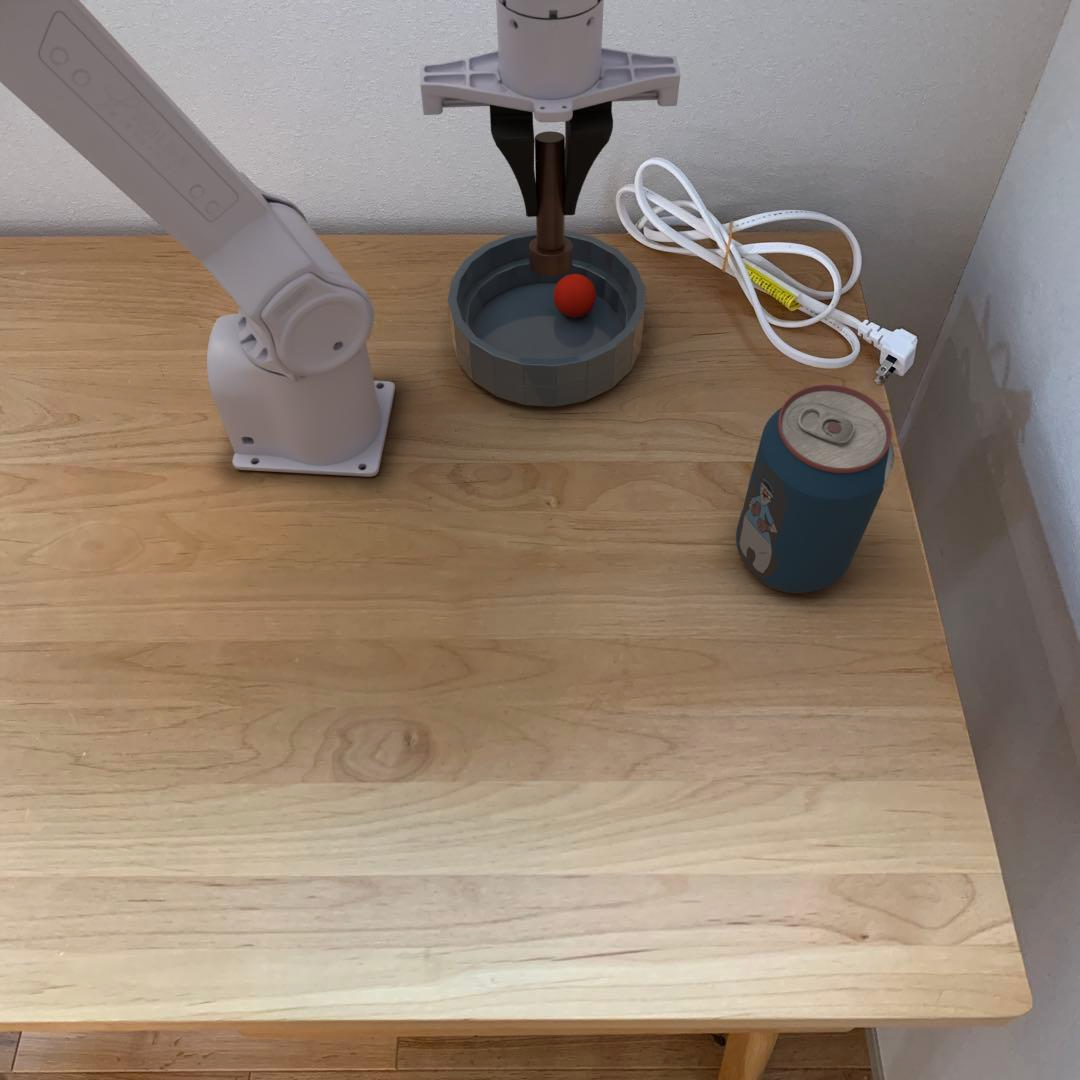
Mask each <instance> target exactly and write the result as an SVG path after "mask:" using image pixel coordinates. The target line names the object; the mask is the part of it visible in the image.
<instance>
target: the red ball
mask: <svg viewBox="0 0 1080 1080" xmlns="http://www.w3.org/2000/svg"><path fill="white" fill-rule="evenodd" d="M595 300H596V291H595V288H594V285H593V284H592V282H591V281H590V280H589V279H588V278H587V277H585V276H583V275H580V274H570V275H567V276H565V277H563V278H562V279H561V280H560V281H559V282H558V283H557V285H556V287H555V289H554V302H555V305H556V307H557V309H558V310H559V311H560V312H561V313H562V314H564V315H566V316H568V317H573V318H576V317H581V316H584V315H585V314H587V313H588V312H589V311H590V310H591V309H592V308H593V306H594V304H595Z"/></svg>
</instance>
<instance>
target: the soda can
mask: <svg viewBox="0 0 1080 1080" xmlns="http://www.w3.org/2000/svg"><path fill="white" fill-rule="evenodd" d="M892 432H893V431H892V425H891V422H890V420H889V417H888V416H887V413H886V412H885V411H884V410H883V408H882V407H881V406H880V405H879V404H878V402H876V401H875V400H874V399H873V398H872V397H870V396H868V395H867V394H864V392H861V391H859V390H856V389H854V388H850V387H847V386H843V385H838V384H818V385H811V386H808V387H805V388H802V389H800V390H798V391H796V392H794V393H793V394H792V395H790V397H788V398H787V399H786V401H785V402H784V403H783V405H782V406H781V407H780V408H778V409H777V410H776V411H775V412H774V413H773V414H772V415H771V416H770V417H769V418H768V420H767V422H766V423H765V425H764V427H763V430H762V433H761V436H760V440H759V444H758V448H757V452H756V457H755V460H754V463H753V467H752V469H751V474H750V479H749V482H748V485H747V489H746V493H745V496H744V500H743V504H742V508H741V511H740V514H739V515H740V516H739V519H738V523H737V527H736V530H735V531H736V532H735V541H736V549H737V551H738V553H739V556H740V558H741V560H742V562H743V563H744V566H746V568H747V569H748V570H749V571H750V572H751V574H752V575H753V576H755V578H757V579H758V580H759V581H760V582H761V583H763V584H764V585H766V586H768V587H770V588H771V589H774V590H777V591H779V592H783V593H788V594H789V593H790V594H803V593H804V594H805V593H811V592H816V591H820V590H822V589H825V588H829V587H830V586H831V585H833V584H835V583H836V582H837V581H839V580H840V579H842V577H843V576H844V575H845V574H846V573H847V571H848V570H849V568H850V566H851V564H852V562H853V559H854V557H855V554H856V553H857V550H858V548H859V546H860V543H861V541H862V539H863V536H864V534H865V532H866V531H867V528H868V525H869V524H870V521H871V519H872V516H873V514H874V512H875V510H876V507H877V505H878V503H879V500H880V499H881V496H882V494H883V491H884V489H885V487H886V485H887V482H888V480H889V478H890V475H891V473H892V471H893V468H894V463H895V449H894V445H893V441H892V436H893V434H892Z"/></svg>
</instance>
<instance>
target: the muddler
mask: <svg viewBox="0 0 1080 1080" xmlns="http://www.w3.org/2000/svg"><path fill="white" fill-rule="evenodd" d="M534 140H535V142H534V172H535V181H536V196H537V217H535V218H536V220H535V221H536V222H535V223H536V230H537V238H535V239H534V240H532V241H531V242H530V244H529V262H530V268H531V270H532V271H533V272H535V273H537V274H540V275H544V276H557V275H562V274H564V273H566V272H568V271H569V270H570V269H571V267H572V243H571V241H570V240H568V239H567V238H565V230H566V229H565V227H566V224H565V223H566V222H565V221H566V219H565V217H566V215H565V216H564V194H565V134H563V133H561V132H559V131H551V130H550V131H549V130H548V131H542V132H539V133H537V134H536V135H534Z"/></svg>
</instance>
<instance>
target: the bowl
mask: <svg viewBox="0 0 1080 1080" xmlns="http://www.w3.org/2000/svg"><path fill="white" fill-rule="evenodd" d="M535 238H537V229H531V230H525V231H519V232H514V233H509V234H506V235H504V236H501V237H499V238H496V239H495V240H492V241H489V242H487V243H485V244H483V245H482V246H480V247H479V248H478V249H476V250H475V251H474V252H472V253H471V254H470V255H468V256H467V257H466V258H465V259H464V260H463V261H462V263H461V264H460V266H459V267H458V269H457V270H456V272H455V273H454V275H453V276H452V278H451V281H450V286H449V290H448V291H449V292H448V297H447V305H448V314H449V315H448V317H449V323H450V324H449V325H450V331H451V333H450V334H451V342H452V347H453V350H454V353H455V357H456V360H457V363H458V365H459V366H460V367H461V368H462V369H463V371H464V372H465V373H466V374H467V376H468V377H469V379H470V380H471V381H472V382H473V383H475V384H476V385H478V386H479V387H481V388H483V389H484V390H485V391H487V392H489V393H490V394H492V395H494V396H496V398H501V399H503V400H507V401H510V402H513V403H516V404H517V403H518V404H519V405H523V406H535V407H561V406H567V405H572V404H576V403H582V402H586V401H588V400H591V399H592V398H594V397H596V396H599V395H601V394H603V393H605V392H607V391H609V390H611V389H613V388H614V387H615V386H616V385H618V383H619V382H621V380H622V379H623V378H625V377H626V376H627V375H628V374H629V373H630V372H631V371H632V369H633V367H634V365H635V363H636V361H637V359H638V357H639V355H640V353H641V349H642V341H643V333H644V331H643V330H644V322H645V321H644V320H645V311H646V286H645V284H644V281H643V279H642V277H641V275H640V272H639V271H638V268H637V266H635V264H634V263H633V262H632V261H630V259H629V258H628V257H627V256H626V255H625V254H624V253H623V252H622V251H621V250H619V249H618V248H616V247H614V246H612V245H611V244H609V243H608V242H605V241H603V240H602V239H599V238H598V237H596V236H591V235H588V234H584V233H580V232H576V231H573V230H567V229H565V238H567V239H568V240H570V241H571V243H572V267H571V269H570V270H569V271H568V272H566V273H564V274H562V275H557V276H544V275H540V274H537V273H535V272H533V271H532V270H531V268H530V262H529V244H530V242H531V241H532V240H534V239H535ZM570 274H580V275H583V276H585V277H587V278H588V279H589V280H590V281H591V282H592V284H593V285H594V288H595V291H596V300H595V304H594V306H593V308H592V309H591V310H590V311H589V312H588V313H587V314H585V315H584V316H581V317H576V318H573V317H568V316H566V315H564V314H562V313H561V312H560V311H559V310H558V309H557V307H556V305H555V302H554V289H555V287H556V285H557V283H558V282H559V281H560V280H561V279H562V278H563V277H565V276H567V275H570Z"/></svg>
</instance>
